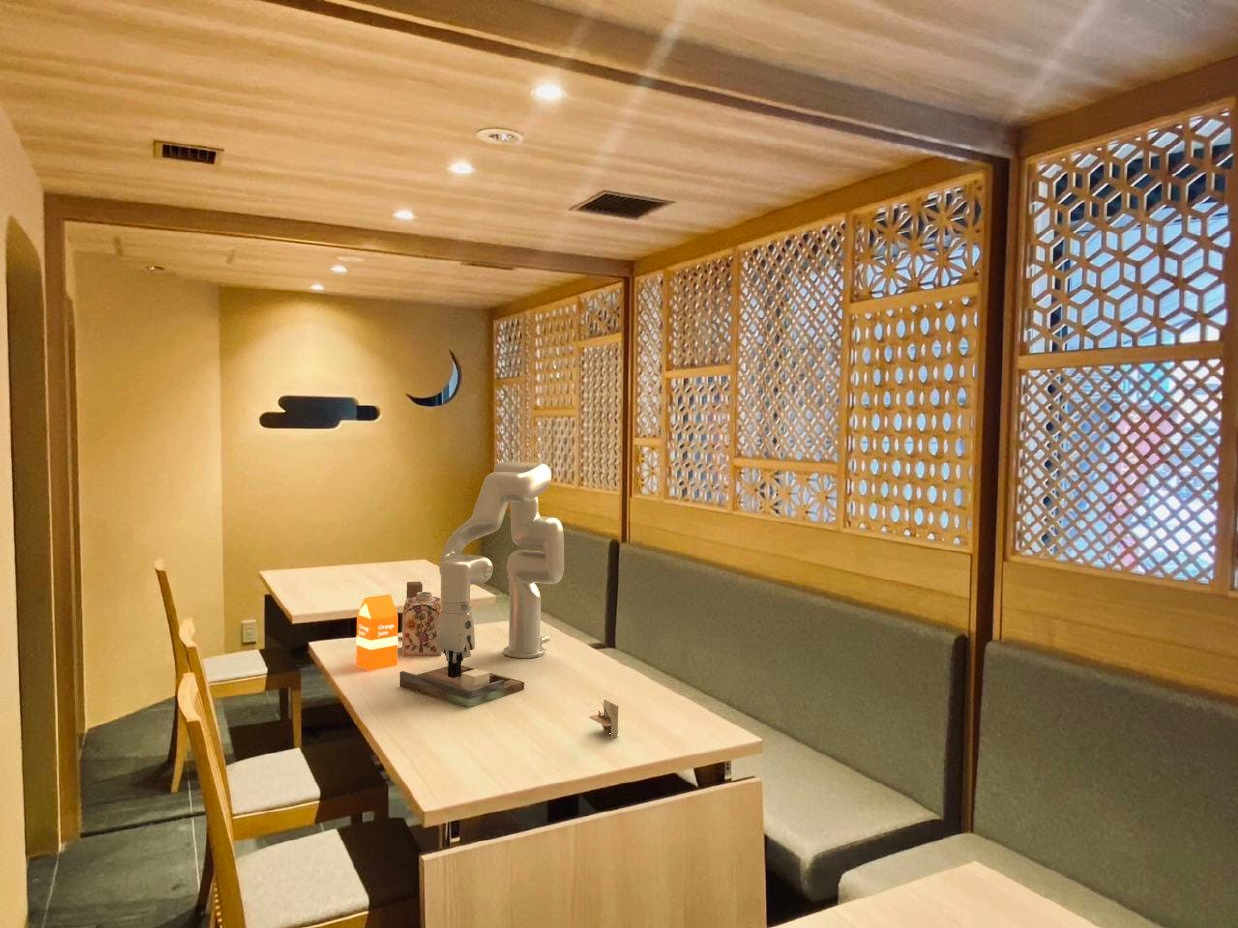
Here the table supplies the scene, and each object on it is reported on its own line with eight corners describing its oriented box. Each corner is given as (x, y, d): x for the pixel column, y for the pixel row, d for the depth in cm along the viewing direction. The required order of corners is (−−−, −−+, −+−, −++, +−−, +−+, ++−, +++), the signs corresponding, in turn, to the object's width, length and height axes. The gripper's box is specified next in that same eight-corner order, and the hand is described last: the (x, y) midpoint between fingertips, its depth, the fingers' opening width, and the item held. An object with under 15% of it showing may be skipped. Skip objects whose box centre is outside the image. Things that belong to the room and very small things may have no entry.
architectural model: (605, 741, 198) (606, 708, 198) (588, 732, 204) (589, 700, 203) (618, 738, 200) (618, 706, 200) (601, 729, 205) (601, 697, 205)
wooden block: (433, 634, 289) (434, 580, 289) (435, 638, 285) (436, 583, 284) (405, 636, 286) (406, 581, 285) (407, 639, 282) (408, 584, 281)
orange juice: (397, 665, 253) (398, 596, 252) (370, 671, 246) (371, 600, 245) (382, 659, 258) (383, 592, 257) (355, 665, 252) (356, 595, 251)
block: (475, 686, 228) (475, 668, 228) (489, 689, 225) (489, 672, 225) (461, 690, 224) (461, 672, 224) (474, 694, 221) (475, 676, 221)
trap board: (456, 670, 248) (456, 656, 248) (524, 689, 233) (524, 674, 233) (399, 686, 232) (399, 671, 232) (468, 707, 217) (468, 691, 217)
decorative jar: (406, 646, 274) (407, 589, 273) (444, 646, 275) (445, 589, 274) (401, 656, 262) (402, 596, 261) (441, 656, 263) (442, 596, 262)
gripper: (486, 609, 228) (485, 678, 229) (446, 600, 237) (445, 667, 238) (464, 613, 222) (463, 685, 223) (424, 605, 231) (424, 674, 232)
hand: (454, 676), depth 230 cm, fingers closed
